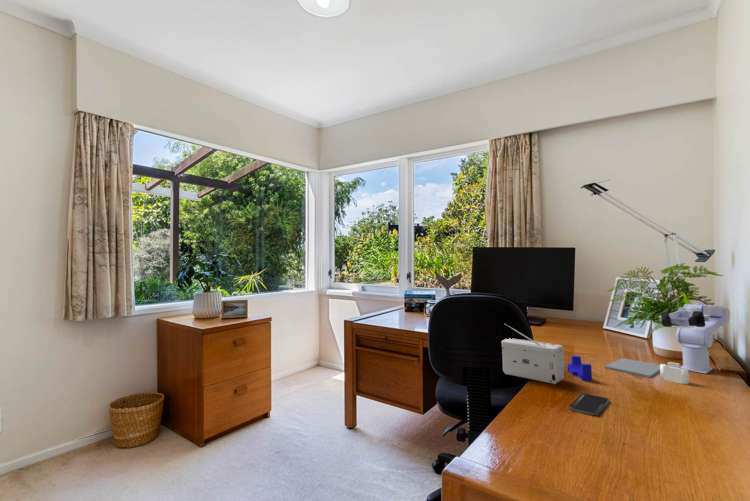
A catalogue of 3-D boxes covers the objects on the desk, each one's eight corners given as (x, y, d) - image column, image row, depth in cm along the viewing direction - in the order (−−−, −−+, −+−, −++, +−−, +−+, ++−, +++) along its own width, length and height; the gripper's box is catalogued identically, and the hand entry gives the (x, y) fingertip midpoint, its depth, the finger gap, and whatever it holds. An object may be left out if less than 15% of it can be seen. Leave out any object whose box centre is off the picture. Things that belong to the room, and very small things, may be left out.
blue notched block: (567, 370, 142) (566, 355, 143) (579, 371, 142) (579, 355, 142) (578, 381, 131) (577, 364, 131) (591, 381, 130) (591, 365, 130)
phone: (568, 407, 107) (582, 392, 118) (568, 411, 107) (582, 396, 118) (598, 415, 101) (610, 398, 112) (598, 419, 101) (610, 402, 112)
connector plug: (662, 377, 132) (661, 359, 132) (690, 383, 125) (689, 364, 125) (659, 379, 130) (658, 361, 130) (687, 385, 123) (686, 366, 124)
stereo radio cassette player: (565, 380, 131) (563, 325, 132) (558, 386, 125) (556, 329, 126) (509, 369, 146) (507, 320, 146) (500, 374, 140) (498, 323, 140)
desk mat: (622, 360, 153) (622, 358, 153) (665, 368, 141) (665, 366, 141) (604, 368, 144) (604, 366, 144) (649, 377, 131) (649, 375, 131)
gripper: (662, 306, 142) (649, 312, 134) (710, 304, 130) (699, 310, 122) (666, 324, 141) (654, 330, 133) (715, 324, 130) (704, 331, 122)
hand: (676, 322), depth 128 cm, fingers open, 7 cm apart
